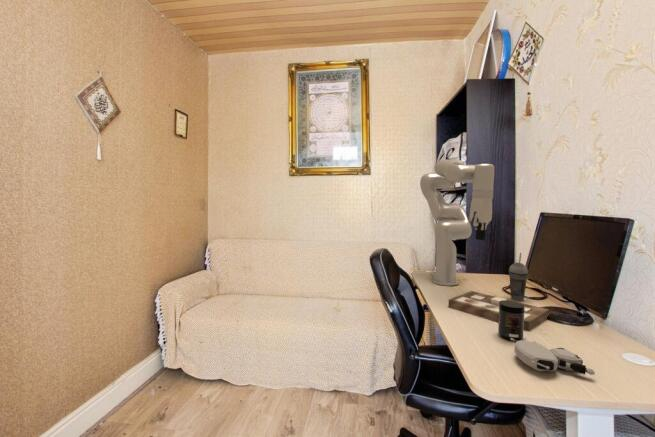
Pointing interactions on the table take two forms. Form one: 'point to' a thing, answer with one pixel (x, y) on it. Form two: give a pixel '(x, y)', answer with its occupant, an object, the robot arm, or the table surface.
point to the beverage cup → (518, 280)
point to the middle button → (496, 300)
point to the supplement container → (511, 320)
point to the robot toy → (549, 358)
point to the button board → (495, 309)
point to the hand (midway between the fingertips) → (480, 239)
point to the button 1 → (477, 297)
